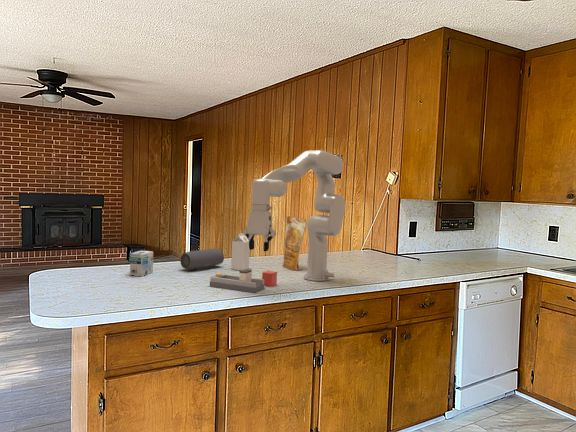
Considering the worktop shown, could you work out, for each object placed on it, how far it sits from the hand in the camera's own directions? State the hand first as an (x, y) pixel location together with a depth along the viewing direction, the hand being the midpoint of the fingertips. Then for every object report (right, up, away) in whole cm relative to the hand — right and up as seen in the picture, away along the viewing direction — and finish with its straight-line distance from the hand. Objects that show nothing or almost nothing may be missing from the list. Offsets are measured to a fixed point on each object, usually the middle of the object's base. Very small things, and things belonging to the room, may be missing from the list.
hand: (258, 249), depth 196 cm
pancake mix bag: (+15, -14, +56) cm, 59 cm away
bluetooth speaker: (-33, -13, +44) cm, 56 cm away
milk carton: (-13, -14, +47) cm, 50 cm away
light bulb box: (-58, -14, +24) cm, 65 cm away
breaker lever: (-6, -15, +4) cm, 17 cm away
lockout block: (+4, -17, +12) cm, 21 cm away
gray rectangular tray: (-10, -17, +5) cm, 20 cm away
